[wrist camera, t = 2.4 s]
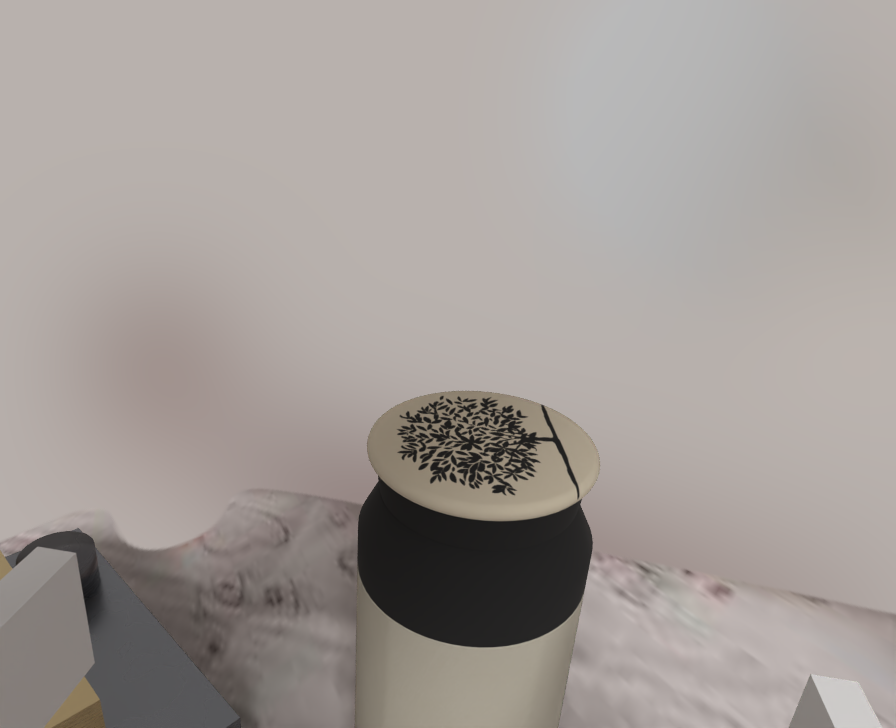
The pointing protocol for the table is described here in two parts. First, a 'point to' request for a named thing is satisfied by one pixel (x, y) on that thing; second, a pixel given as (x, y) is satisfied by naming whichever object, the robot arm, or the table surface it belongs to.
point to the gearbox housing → (128, 656)
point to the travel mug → (471, 563)
